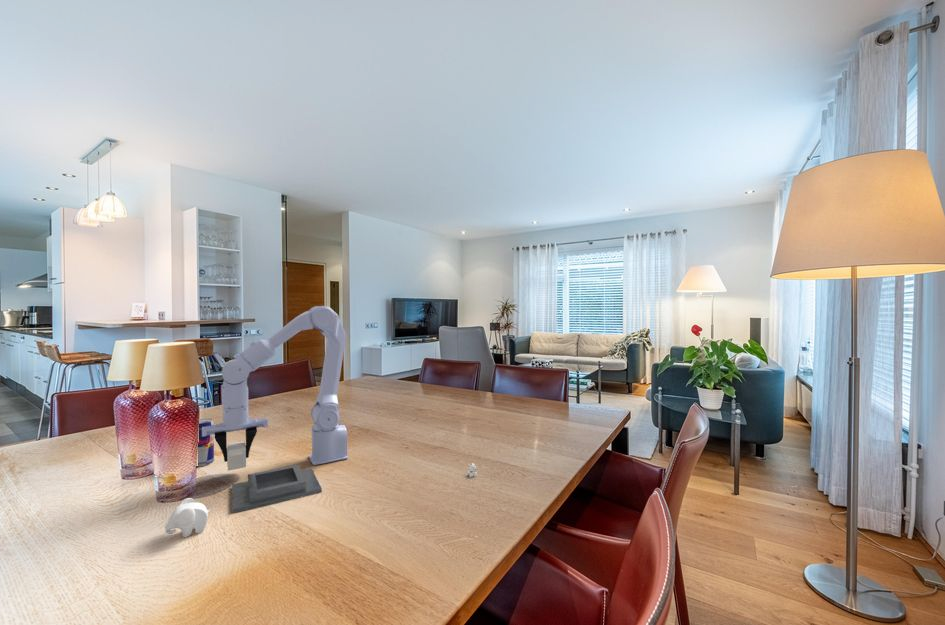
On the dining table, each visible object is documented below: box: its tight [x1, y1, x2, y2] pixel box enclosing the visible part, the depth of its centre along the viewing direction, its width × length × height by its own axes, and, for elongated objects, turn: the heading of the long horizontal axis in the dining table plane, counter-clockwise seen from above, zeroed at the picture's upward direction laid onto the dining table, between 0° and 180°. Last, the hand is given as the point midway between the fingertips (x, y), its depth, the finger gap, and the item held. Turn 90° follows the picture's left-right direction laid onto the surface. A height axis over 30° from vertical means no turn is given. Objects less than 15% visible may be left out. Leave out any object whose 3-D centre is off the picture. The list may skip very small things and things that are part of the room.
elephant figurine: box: [164, 497, 215, 538], centre depth 75 cm, size 7×8×6 cm
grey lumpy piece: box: [467, 462, 478, 478], centre depth 101 cm, size 3×3×3 cm
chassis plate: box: [231, 464, 323, 514], centre depth 93 cm, size 18×14×3 cm
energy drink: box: [197, 418, 215, 468], centre depth 109 cm, size 5×5×12 cm
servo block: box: [227, 440, 247, 472], centre depth 101 cm, size 4×8×5 cm, turn 32°
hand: (236, 458), depth 101 cm, fingers closed on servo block, 4 cm apart
